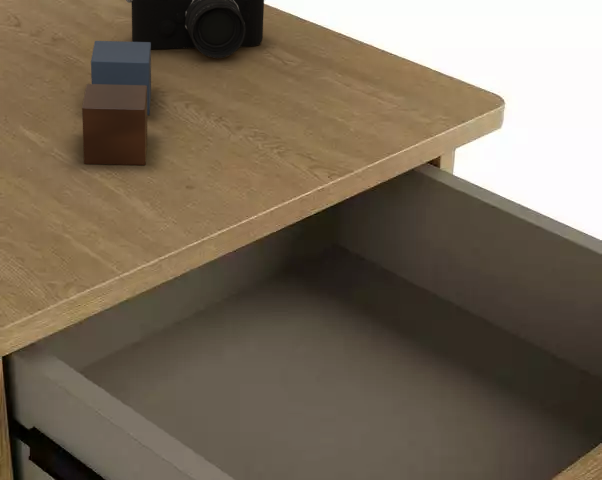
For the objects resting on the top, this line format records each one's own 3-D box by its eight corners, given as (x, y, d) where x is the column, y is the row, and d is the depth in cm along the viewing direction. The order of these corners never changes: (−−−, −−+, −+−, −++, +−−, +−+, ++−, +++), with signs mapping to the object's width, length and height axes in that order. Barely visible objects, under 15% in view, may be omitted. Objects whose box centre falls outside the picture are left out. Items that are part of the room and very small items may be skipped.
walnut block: (84, 164, 106) (81, 107, 104) (88, 138, 110) (86, 83, 108) (145, 165, 107) (144, 109, 104) (147, 139, 111) (147, 84, 108)
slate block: (92, 114, 115) (90, 61, 112) (96, 92, 119) (94, 40, 116) (149, 115, 115) (149, 62, 113) (151, 93, 119) (150, 42, 117)
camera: (131, 65, 125) (130, -16, 121) (124, 38, 131) (123, -40, 127) (277, 61, 128) (280, -19, 124) (263, 35, 134) (266, -42, 130)
